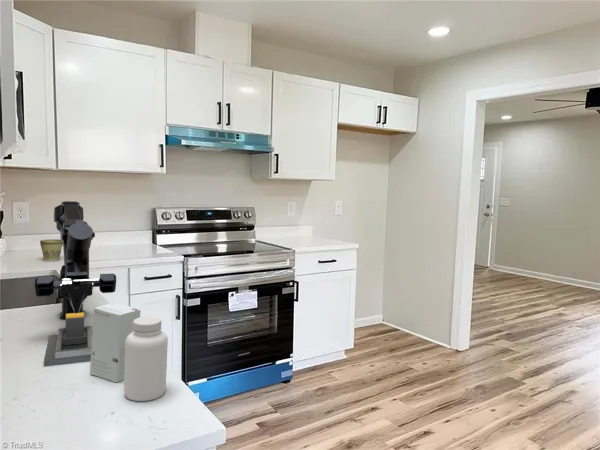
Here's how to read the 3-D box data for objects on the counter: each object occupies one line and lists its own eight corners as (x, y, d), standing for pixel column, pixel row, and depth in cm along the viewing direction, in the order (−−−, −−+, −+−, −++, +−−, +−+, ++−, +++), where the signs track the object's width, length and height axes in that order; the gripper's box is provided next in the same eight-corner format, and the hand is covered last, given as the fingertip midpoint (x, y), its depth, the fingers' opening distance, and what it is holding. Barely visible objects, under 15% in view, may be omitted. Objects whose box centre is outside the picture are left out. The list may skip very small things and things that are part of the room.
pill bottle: (149, 406, 83) (151, 328, 81) (114, 397, 85) (116, 322, 84) (174, 388, 90) (176, 317, 89) (141, 381, 93) (143, 311, 92)
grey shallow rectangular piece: (49, 339, 113) (49, 328, 113) (100, 334, 118) (100, 324, 118) (43, 366, 97) (43, 354, 97) (102, 359, 102) (103, 348, 102)
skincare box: (89, 374, 94) (90, 307, 93) (111, 365, 100) (112, 301, 99) (118, 384, 91) (119, 314, 90) (139, 373, 96) (141, 307, 95)
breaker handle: (63, 339, 110) (63, 313, 109) (85, 337, 112) (86, 311, 111) (63, 345, 106) (63, 317, 106) (86, 343, 108) (86, 316, 108)
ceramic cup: (53, 263, 211) (53, 242, 210) (35, 261, 212) (35, 240, 211) (71, 258, 223) (71, 239, 222) (54, 257, 225) (54, 238, 224)
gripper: (113, 277, 129) (114, 325, 120) (39, 280, 120) (35, 332, 111) (115, 254, 121) (117, 304, 112) (36, 256, 113) (32, 309, 104)
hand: (76, 313), depth 110 cm, fingers closed, pressing on breaker handle
